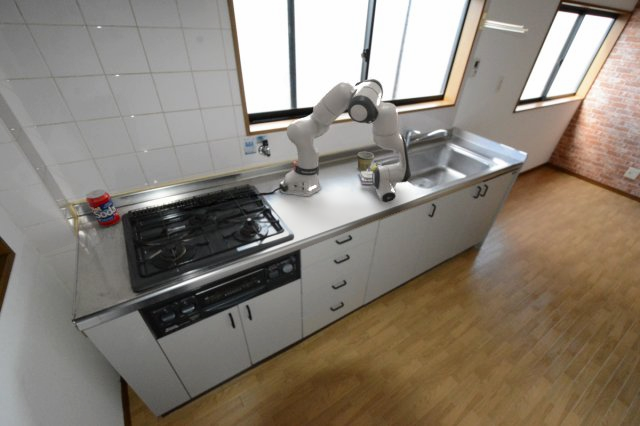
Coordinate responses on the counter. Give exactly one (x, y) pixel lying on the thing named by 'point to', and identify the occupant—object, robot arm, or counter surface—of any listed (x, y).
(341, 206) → the counter surface
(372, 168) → the green grape bunch
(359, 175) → the towel
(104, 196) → the soda can
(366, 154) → the ceramic cup
